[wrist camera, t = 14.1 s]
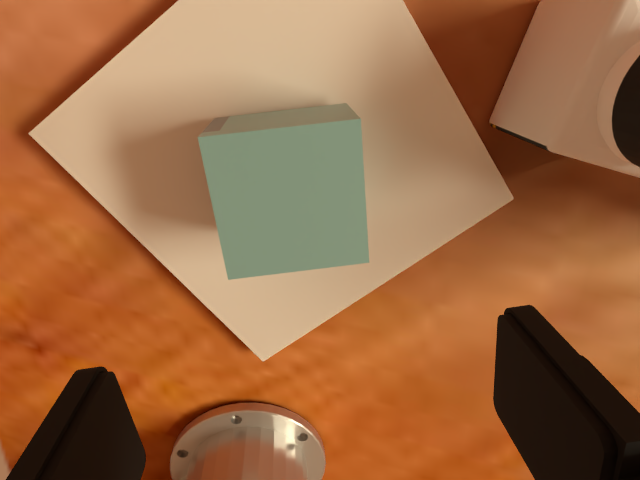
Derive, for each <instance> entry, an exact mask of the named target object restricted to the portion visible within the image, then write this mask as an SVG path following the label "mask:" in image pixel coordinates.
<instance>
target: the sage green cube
mask: <svg viewBox="0 0 640 480" xmlns="http://www.w3.org/2000/svg"><path fill="white" fill-rule="evenodd" d="M198 142H199V146H200V151H201V156H202V160H203V165H204V170H205V174H206V179H207V184H208V188H209V193H210V198H211V202H212V207H213V212H214V216H215V221H216V226H217V230H218V235H219V240H220V244H221V249H222V254H223V258H224V263H225V268H226V272H227V277H228V280H231V279H239V278H248V277H256V276H264V275H272V274H280V273H289V272H297V271H305V270H313V269H321V268H330V267H338V266H346V265H354V264H362V263H369V248H368V231H367V214H366V198H365V181H364V164H363V147H362V130H361V118H360V117H359V116H358V115H357V114H356V113H355V112H354V111H353V110H352V109H351V108H350V107H349V105H348V104H347V103H343V104H334V105H325V106H316V107H307V108H298V109H290V110H281V111H272V112H263V113H254V114H245V115H237V116H228V117H219V118H214V119H213V120H212V121H211V123H210V124H209V125H208V126H207V127H206V128H205V129H204V131H203V132H202V133H201V134H200V135H199V136H198Z"/></svg>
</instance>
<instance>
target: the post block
mask: <svg viewBox="0 0 640 480" xmlns="http://www.w3.org/2000/svg"><path fill="white" fill-rule="evenodd" d="M343 103H347V104H348V105H349V107H350V108H351V109H352V110H353V111H354V112H355V113H356V114H357V115H358V116H359V117H360V118H361V130H362V147H363V164H364V181H365V198H366V214H367V231H368V248H369V263H362V264H354V265H346V266H338V267H330V268H321V269H313V270H305V271H297V272H289V273H280V274H272V275H264V276H256V277H248V278H239V279H231V280H228V277H227V272H226V268H225V263H224V258H223V254H222V249H221V244H220V240H219V235H218V230H217V226H216V221H215V216H214V212H213V207H212V202H211V198H210V193H209V188H208V184H207V179H206V174H205V170H204V165H203V160H202V156H201V151H200V146H199V142H198V136H199V135H200V134H201V133H202V132H203V131H204V129H205V128H206V127H207V126H208V125H209V124H210V123H211V121H212V120H213V119H214V118H219V117H228V116H237V115H245V114H254V113H263V112H272V111H281V110H290V109H298V108H307V107H316V106H325V105H334V104H343ZM28 134H29V135H30V136H31V137H32V138H33V139H34V140H35V141H36V142H37V143H39V144H40V145H41V146H42V147H43V148H44V149H45V150H46V151H47V152H48V153H49V154H50V155H51V156H52V157H53V158H54V159H55V160H56V161H57V162H58V163H59V164H60V165H61V166H62V167H63V168H64V169H65V170H66V171H67V172H68V173H69V174H70V175H71V176H72V177H74V178H75V179H76V180H77V181H78V182H79V183H80V184H81V185H82V186H83V187H84V188H85V189H86V190H87V191H88V192H89V193H90V194H91V195H92V196H93V197H94V198H95V199H96V200H97V201H98V202H99V203H100V204H101V205H102V206H103V207H104V208H105V209H106V210H107V211H109V212H110V213H111V214H112V215H113V216H114V217H115V218H116V219H117V220H118V221H119V222H120V223H121V224H122V225H123V226H124V227H125V228H126V229H127V230H128V231H129V232H130V233H131V234H132V235H133V236H134V237H135V238H136V239H137V240H138V241H139V242H140V243H141V244H142V245H144V246H145V247H146V248H147V249H148V250H149V251H150V252H151V253H152V254H153V255H154V256H155V257H156V258H157V259H158V260H159V261H160V262H161V263H162V264H163V265H164V266H165V267H166V268H167V269H168V270H169V271H170V272H171V273H172V274H173V275H174V276H175V277H176V278H177V279H179V280H180V281H181V282H182V283H183V284H184V285H185V286H186V287H187V288H188V289H189V290H190V291H191V292H192V293H193V294H194V295H195V296H196V297H197V298H198V299H199V300H200V301H201V302H202V303H203V304H204V305H205V306H206V307H207V308H208V309H209V310H210V311H211V312H212V313H213V314H215V315H216V316H217V317H218V318H219V319H220V320H221V321H222V322H223V323H224V324H225V325H226V326H227V327H228V328H229V329H230V330H231V331H232V332H233V333H234V334H235V335H236V336H237V337H238V338H239V339H240V340H241V341H242V342H243V343H244V344H245V345H246V346H247V347H248V348H250V349H251V350H252V351H253V352H254V353H255V354H256V355H257V356H258V357H259V358H260V359H261V360H262V361H265V360H266V359H268V358H270V357H271V356H273V355H274V354H276V353H277V352H279V351H280V350H282V349H283V348H285V347H286V346H288V345H290V344H291V343H293V342H294V341H296V340H297V339H299V338H300V337H302V336H303V335H305V334H307V333H308V332H310V331H311V330H313V329H314V328H316V327H317V326H319V325H320V324H322V323H324V322H325V321H327V320H328V319H330V318H331V317H333V316H334V315H336V314H337V313H339V312H340V311H342V310H344V309H345V308H347V307H348V306H350V305H351V304H353V303H354V302H356V301H357V300H359V299H361V298H362V297H364V296H365V295H367V294H368V293H370V292H371V291H373V290H374V289H376V288H377V287H379V286H381V285H382V284H384V283H385V282H387V281H388V280H390V279H391V278H393V277H394V276H396V275H398V274H399V273H401V272H402V271H404V270H405V269H407V268H408V267H410V266H411V265H413V264H414V263H416V262H418V261H419V260H421V259H422V258H424V257H425V256H427V255H428V254H430V253H431V252H433V251H435V250H436V249H438V248H439V247H441V246H442V245H444V244H445V243H447V242H448V241H450V240H452V239H453V238H455V237H456V236H458V235H459V234H461V233H462V232H464V231H465V230H467V229H468V228H470V227H472V226H473V225H475V224H476V223H478V222H479V221H481V220H482V219H484V218H485V217H487V216H489V215H490V214H492V213H493V212H495V211H496V210H498V209H499V208H501V207H502V206H504V205H505V204H507V203H509V202H510V201H512V200H513V199H514V197H513V196H512V194H511V192H510V190H509V188H508V187H507V185H506V183H505V181H504V180H503V178H502V176H501V174H500V172H499V171H498V169H497V167H496V165H495V164H494V162H493V160H492V158H491V156H490V155H489V153H488V151H487V149H486V147H485V146H484V144H483V142H482V140H481V139H480V137H479V135H478V133H477V131H476V130H475V128H474V126H473V124H472V123H471V121H470V119H469V117H468V115H467V114H466V112H465V110H464V108H463V107H462V105H461V103H460V101H459V99H458V98H457V96H456V94H455V92H454V90H453V89H452V87H451V85H450V83H449V82H448V80H447V78H446V76H445V74H444V73H443V71H442V69H441V67H440V66H439V64H438V62H437V60H436V58H435V57H434V55H433V53H432V51H431V50H430V48H429V46H428V44H427V42H426V41H425V39H424V37H423V35H422V33H421V32H420V30H419V28H418V26H417V25H416V23H415V21H414V19H413V17H412V16H411V14H410V12H409V10H408V9H407V7H406V5H405V3H404V1H403V0H178V1H177V2H176V3H175V4H174V5H172V6H171V7H170V8H169V9H168V10H167V11H166V12H165V13H163V14H162V15H161V16H160V17H159V18H158V19H157V20H156V21H154V22H153V23H152V24H151V25H150V26H149V27H148V28H147V29H145V30H144V31H143V32H142V33H141V34H140V35H139V36H138V37H136V38H135V39H134V40H133V41H132V42H131V43H130V44H129V45H127V46H126V47H125V48H124V49H123V50H122V51H121V52H120V53H118V54H117V55H116V56H115V57H114V58H113V59H112V60H111V61H109V62H108V63H107V64H106V65H105V66H104V67H103V68H102V69H100V70H99V71H98V72H97V73H96V74H95V75H94V76H92V77H91V78H90V79H89V80H88V81H87V82H86V83H85V84H83V85H82V86H81V87H80V88H79V89H78V90H77V91H76V92H74V93H73V94H72V95H71V96H70V97H69V98H68V99H67V100H65V101H64V102H63V103H62V104H61V105H60V106H59V107H58V108H56V109H55V110H54V111H53V112H52V113H51V114H50V115H49V116H47V117H46V118H45V119H44V120H43V121H42V122H41V123H40V124H38V125H37V126H36V127H35V128H34V129H33V130H32V131H31V132H29V133H28Z"/></svg>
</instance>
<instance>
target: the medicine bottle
mask: <svg viewBox="0 0 640 480" xmlns="http://www.w3.org/2000/svg"><path fill="white" fill-rule="evenodd" d="M489 123H490V125H491V126H492V127H494V128H496V129H498V130H501V131H503V132H505V133H508V134H510V135H513V136H515V137H517V138H520V139H522V140H524V141H527V142H529V143H531V144H534V145H536V146H538V147H541V148H543V149H545V150H548V151H550V152H553V153H557V154H560V155H563V156H567V157H570V158H574V159H577V160H580V161H584V162H587V163H591V164H594V165H597V166H601V167H604V168H608V169H611V170H615V171H618V172H621V173H625V174H628V175H632V176H635V177H638V178H640V0H541V1H540V2H539V4H538V6H537V8H536V11H535V13H534V15H533V18H532V20H531V22H530V25H529V27H528V30H527V32H526V34H525V37H524V39H523V41H522V44H521V46H520V48H519V51H518V53H517V56H516V58H515V60H514V63H513V65H512V67H511V70H510V72H509V74H508V77H507V79H506V82H505V84H504V86H503V89H502V91H501V93H500V96H499V98H498V101H497V103H496V105H495V108H494V110H493V112H492V115H491V117H490V120H489Z"/></svg>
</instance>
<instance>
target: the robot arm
mask: <svg viewBox="0 0 640 480" xmlns="http://www.w3.org/2000/svg"><path fill="white" fill-rule="evenodd" d="M493 399H494V406H495V409H496V412H497V414H498V416H499V418H500V420H501V421H502V423H503V425H504V427H505V428H506V430H507V432H508V434H509V435H510V437H511V439H512V440H513V442H514V444H515V446H516V447H517V449H518V451H519V453H520V454H521V456H522V458H523V459H524V461H525V463H526V465H527V466H528V468H529V470H530V472H531V473H532V475H533V477H534V478H535V480H640V413H639V412H638V411H637V410H636V409H635V408H634V407H633V406H632V405H631V404H630V403H629V402H628V401H627V400H626V399H625V398H624V397H623V396H622V395H621V394H620V393H619V392H618V390H617V389H616V388H615V387H614V386H613V385H612V384H611V383H610V382H609V381H608V380H607V379H606V378H605V377H604V376H603V375H602V374H601V373H600V372H599V371H598V370H597V369H596V368H595V367H594V366H593V365H592V364H591V363H590V361H588V360H587V359H586V358H585V357H584V356H581V355H579V354H578V353H577V352H576V350H575V349H574V348H573V347H572V346H571V345H570V344H569V343H568V342H567V341H566V340H565V339H564V338H563V337H562V336H561V335H560V334H559V333H558V332H557V331H556V330H555V328H554V327H553V326H552V325H551V324H550V323H549V322H548V321H547V320H546V319H545V318H544V317H543V316H542V315H541V314H540V313H539V312H538V311H537V310H536V309H535V308H534V307H533V306H532V305H525V306H519V307H512V308H507V309H506V310H505V312H504V315H500V316H499V317H498V323H497V342H496V360H495V379H494V397H493ZM145 461H146V455H145V450H144V447H143V445H142V442H141V440H140V437H139V435H138V432H137V430H136V427H135V424H134V422H133V419H132V417H131V414H130V412H129V409H128V407H127V404H126V402H125V399H124V396H123V394H122V391H121V389H120V386H119V384H118V381H117V379H116V376H115V374H114V373H113V372H108V371H107V369H106V368H104V367H95V368H88V369H81V370H77V371H76V372H75V373H74V374H73V375H72V377H71V379H70V380H69V382H68V383H67V385H66V386H65V388H64V390H63V391H62V393H61V394H60V396H59V397H58V399H57V400H56V402H55V404H54V405H53V407H52V408H51V410H50V411H49V413H48V415H47V416H46V418H45V419H44V421H43V422H42V424H41V426H40V427H39V429H38V430H37V432H36V433H35V435H34V436H33V438H32V440H31V441H30V443H29V444H28V446H27V447H26V449H25V451H24V452H23V454H22V455H21V457H20V458H19V460H18V461H17V463H16V465H15V466H14V468H13V469H12V471H11V472H10V474H9V476H8V477H7V479H6V480H141V476H142V473H143V470H144V467H145ZM325 463H326V462H325V451H324V446H323V443H322V440H321V438H320V436H319V434H318V433H317V431H316V430H315V429H314V427H313V426H312V425H311V424H310V423H309V422H308V421H306V420H305V419H304V418H302V417H301V416H299V415H298V414H296V413H294V412H292V411H289V410H287V409H285V408H282V407H278V406H274V405H271V404H263V403H236V404H230V405H225V406H221V407H218V408H215V409H212V410H210V411H208V412H206V413H204V414H202V415H200V416H198V417H197V418H195V419H194V420H193V421H192V422H190V423H189V424H188V425H187V426H186V427H185V428H184V429H183V430H182V432H181V433H180V434H179V436H178V438H177V440H176V442H175V444H174V447H173V451H172V454H171V458H170V472H171V477H172V480H322V477H323V475H324V471H325Z"/></svg>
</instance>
